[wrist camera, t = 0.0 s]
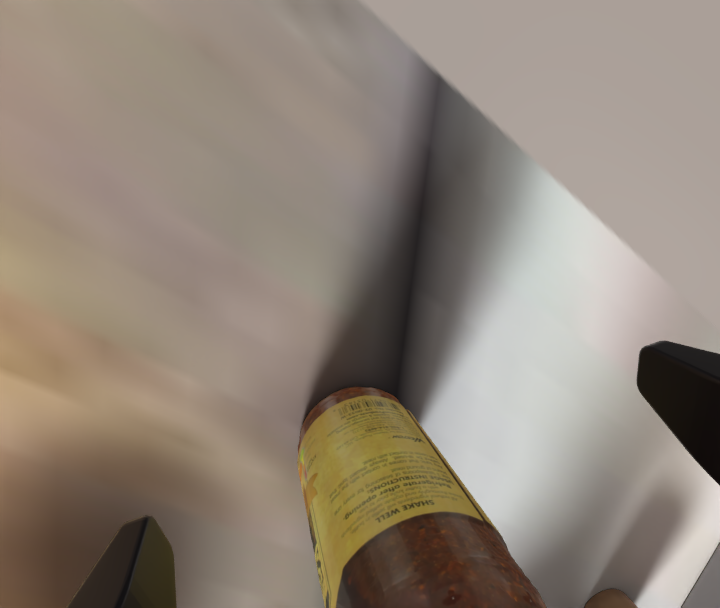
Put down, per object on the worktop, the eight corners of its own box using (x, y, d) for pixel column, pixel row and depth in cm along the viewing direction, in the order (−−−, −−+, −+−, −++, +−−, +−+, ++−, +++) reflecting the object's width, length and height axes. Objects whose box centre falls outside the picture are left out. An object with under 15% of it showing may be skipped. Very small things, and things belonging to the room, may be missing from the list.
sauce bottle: (269, 447, 25) (299, 1293, 6) (353, 355, 25) (675, 910, 6) (362, 515, 27) (618, 1323, 8) (441, 430, 26) (907, 1038, 7)
